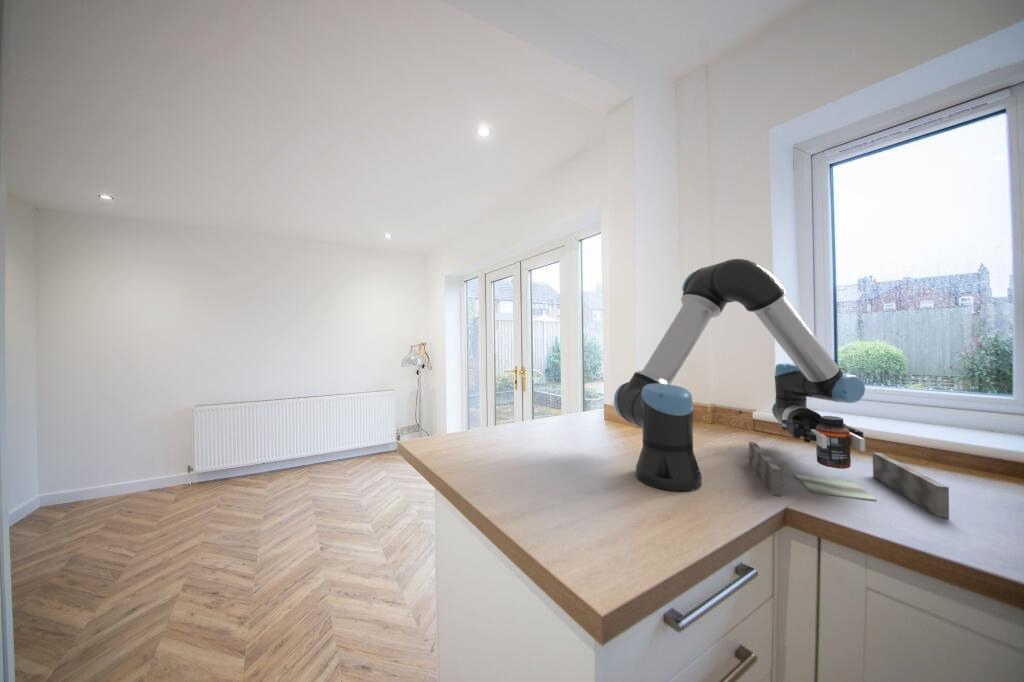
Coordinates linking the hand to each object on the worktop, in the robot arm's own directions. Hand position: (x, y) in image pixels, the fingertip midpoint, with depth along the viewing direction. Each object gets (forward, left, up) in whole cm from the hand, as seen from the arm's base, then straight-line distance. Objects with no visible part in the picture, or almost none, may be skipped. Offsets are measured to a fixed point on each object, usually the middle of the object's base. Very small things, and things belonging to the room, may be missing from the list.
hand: (843, 443), depth 77 cm
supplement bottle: (-4, +3, -7) cm, 8 cm away
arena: (-4, +3, -12) cm, 13 cm away
